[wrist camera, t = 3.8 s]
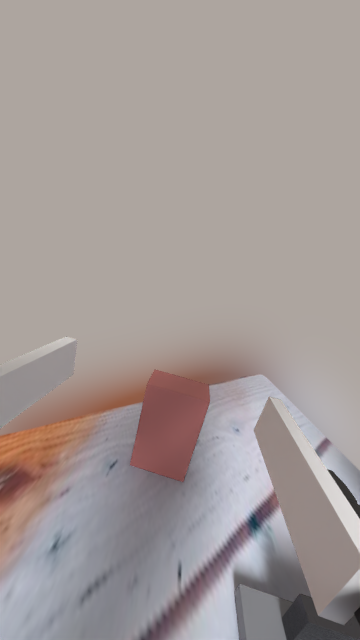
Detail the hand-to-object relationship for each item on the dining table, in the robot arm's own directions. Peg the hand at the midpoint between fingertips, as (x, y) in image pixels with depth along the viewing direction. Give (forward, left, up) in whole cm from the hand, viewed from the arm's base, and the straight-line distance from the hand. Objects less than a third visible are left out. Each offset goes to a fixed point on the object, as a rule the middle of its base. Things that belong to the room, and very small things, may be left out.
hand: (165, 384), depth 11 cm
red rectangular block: (-1, -10, -21) cm, 23 cm away
